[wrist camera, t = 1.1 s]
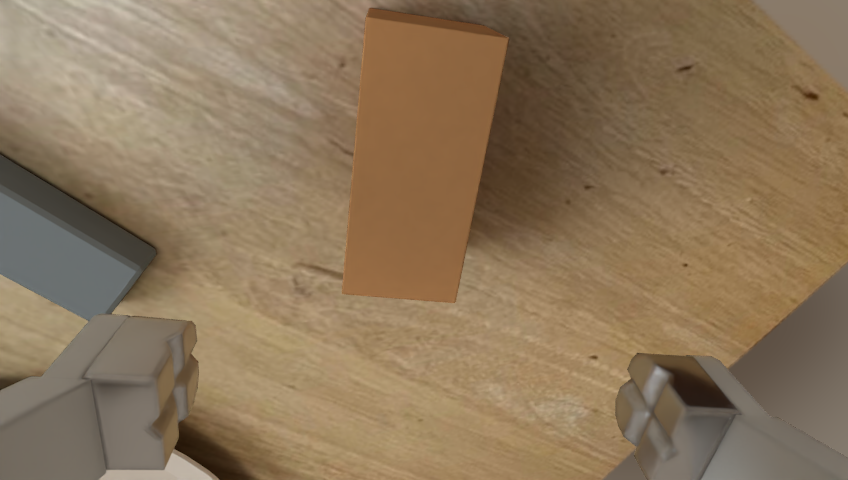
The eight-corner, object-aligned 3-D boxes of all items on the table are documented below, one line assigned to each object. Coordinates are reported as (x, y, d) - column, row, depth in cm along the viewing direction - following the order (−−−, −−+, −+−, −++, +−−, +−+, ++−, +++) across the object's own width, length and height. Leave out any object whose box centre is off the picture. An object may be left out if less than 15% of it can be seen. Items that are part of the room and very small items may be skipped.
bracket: (118, 305, 25) (98, 330, 23) (-127, 170, 21) (-173, 188, 19) (161, 248, 24) (143, 270, 22) (-90, 95, 20) (-136, 106, 18)
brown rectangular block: (369, 7, 20) (365, 15, 16) (484, 25, 20) (510, 37, 16) (348, 241, 24) (341, 294, 20) (443, 250, 25) (455, 303, 21)
